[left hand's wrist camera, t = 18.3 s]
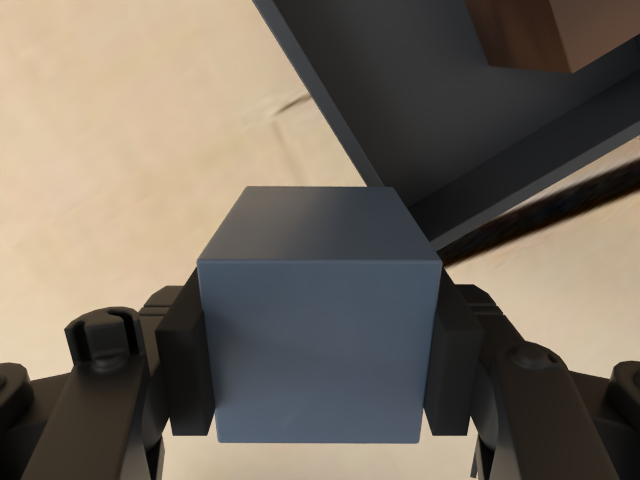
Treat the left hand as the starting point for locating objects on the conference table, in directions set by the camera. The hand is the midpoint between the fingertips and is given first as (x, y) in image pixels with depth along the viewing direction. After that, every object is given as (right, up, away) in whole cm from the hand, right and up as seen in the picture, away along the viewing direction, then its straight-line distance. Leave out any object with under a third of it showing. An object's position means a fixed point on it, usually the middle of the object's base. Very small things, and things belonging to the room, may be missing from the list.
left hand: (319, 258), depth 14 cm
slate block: (0, 0, 0) cm, 0 cm away
